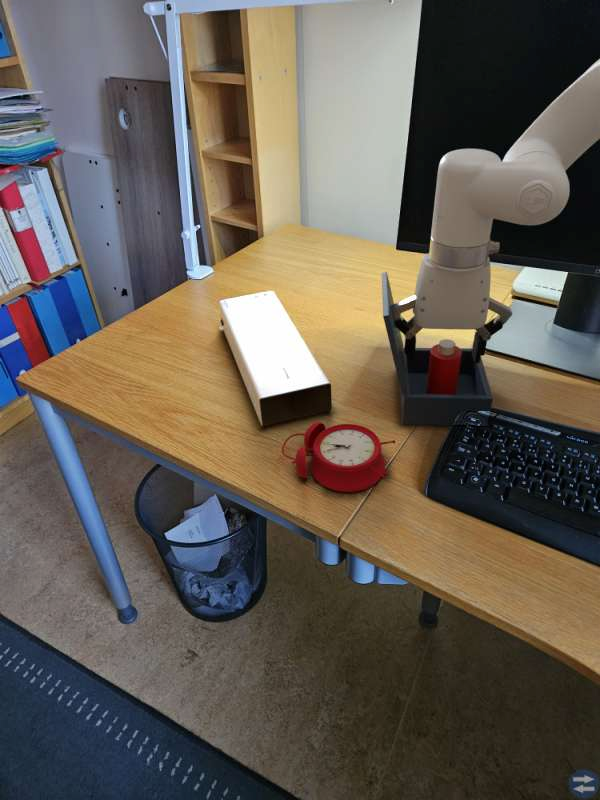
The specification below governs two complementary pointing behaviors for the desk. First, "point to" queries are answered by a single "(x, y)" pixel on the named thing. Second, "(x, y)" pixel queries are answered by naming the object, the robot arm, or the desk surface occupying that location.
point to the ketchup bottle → (444, 368)
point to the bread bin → (443, 408)
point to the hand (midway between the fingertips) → (442, 357)
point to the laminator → (273, 359)
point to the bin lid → (393, 333)
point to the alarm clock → (341, 456)
